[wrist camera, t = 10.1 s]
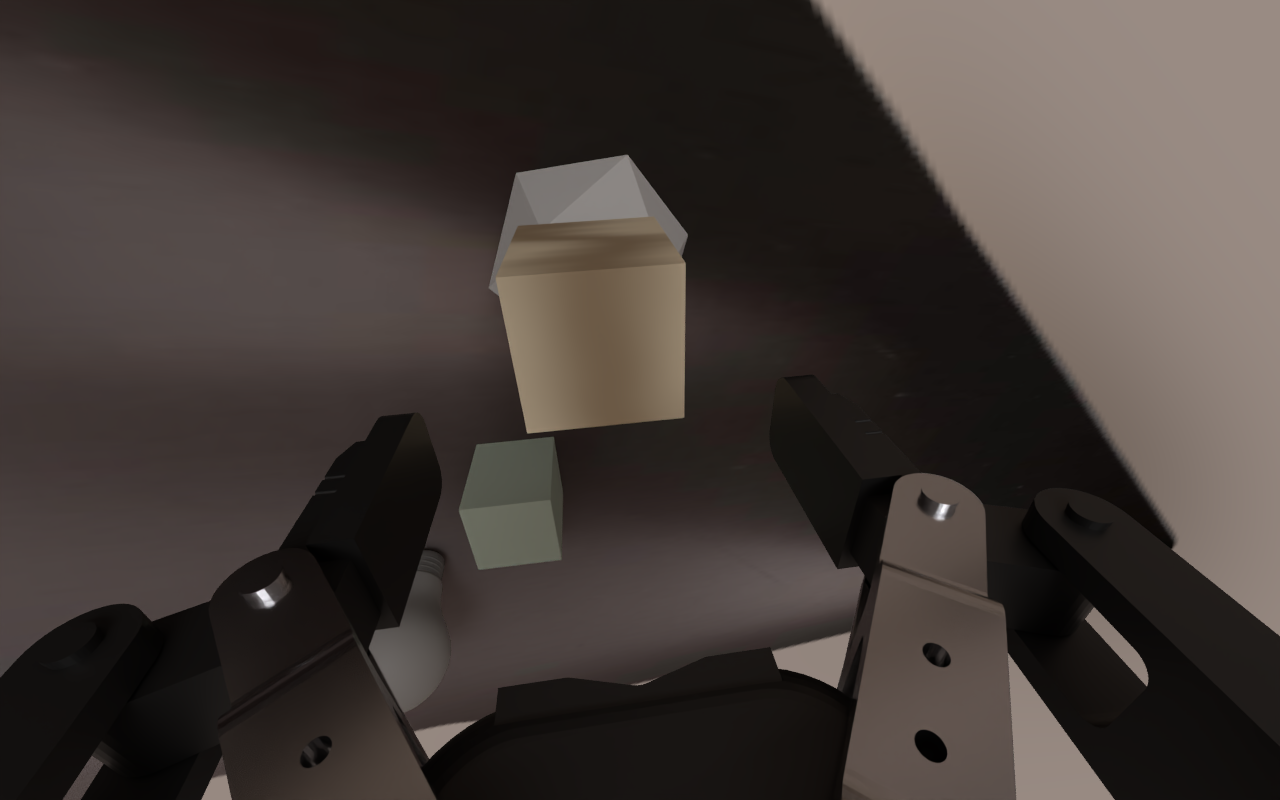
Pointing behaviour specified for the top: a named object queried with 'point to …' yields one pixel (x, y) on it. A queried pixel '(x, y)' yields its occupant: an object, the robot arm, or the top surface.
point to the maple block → (595, 322)
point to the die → (584, 200)
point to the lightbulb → (416, 639)
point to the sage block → (514, 503)
